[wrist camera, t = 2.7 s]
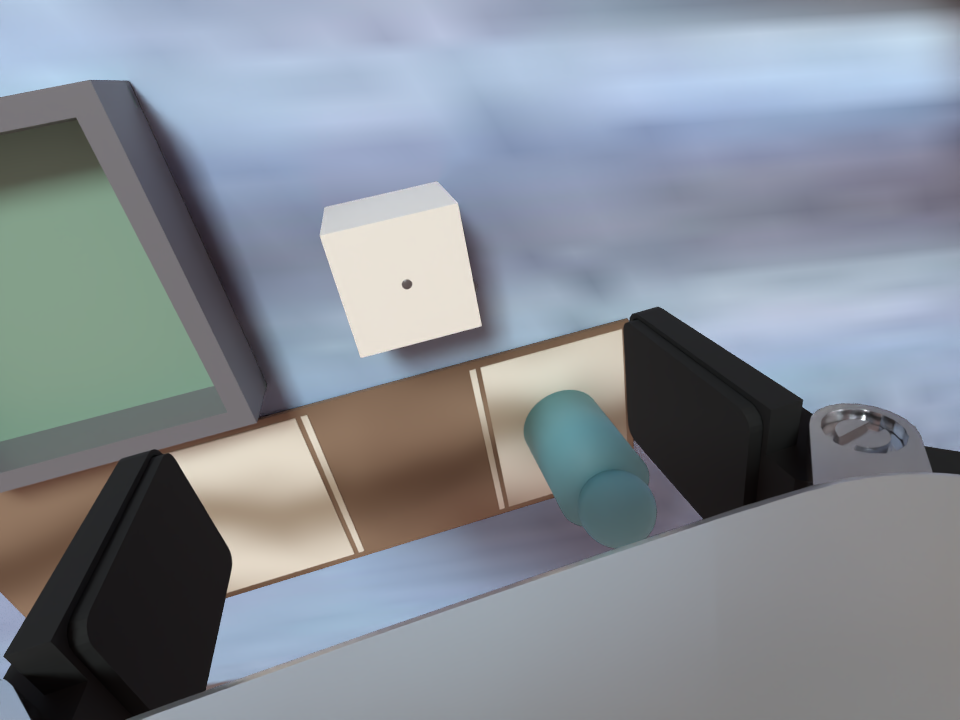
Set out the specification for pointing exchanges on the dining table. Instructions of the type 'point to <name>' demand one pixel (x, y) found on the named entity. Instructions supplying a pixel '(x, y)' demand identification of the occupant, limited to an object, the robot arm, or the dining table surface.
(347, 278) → the die
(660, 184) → the dining table surface
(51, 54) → the dining table surface
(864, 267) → the dining table surface
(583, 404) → the pawn
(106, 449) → the tray
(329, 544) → the board
